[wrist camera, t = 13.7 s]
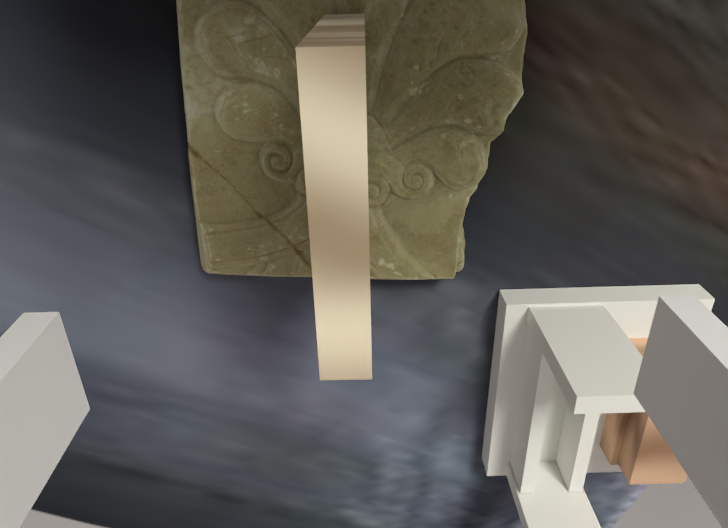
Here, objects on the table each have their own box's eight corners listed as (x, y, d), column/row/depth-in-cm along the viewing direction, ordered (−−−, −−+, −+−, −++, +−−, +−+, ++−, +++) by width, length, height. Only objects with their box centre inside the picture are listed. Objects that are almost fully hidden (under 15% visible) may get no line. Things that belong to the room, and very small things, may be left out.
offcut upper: (639, 377, 38) (653, 396, 36) (698, 375, 38) (715, 394, 36) (617, 462, 42) (629, 484, 40) (670, 461, 42) (684, 482, 40)
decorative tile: (207, 257, 39) (195, 282, 35) (182, -86, 29) (162, -93, 26) (477, 268, 40) (488, 294, 36) (533, -60, 30) (555, -64, 27)
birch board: (324, 14, 29) (295, 47, 16) (364, 13, 29) (365, 45, 16) (335, 231, 34) (319, 380, 22) (368, 230, 34) (372, 379, 22)
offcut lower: (624, 338, 39) (637, 355, 37) (696, 336, 39) (712, 353, 37) (599, 444, 44) (610, 464, 42) (663, 442, 44) (676, 462, 42)
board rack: (499, 289, 39) (549, 394, 30) (698, 284, 40) (813, 386, 30) (481, 456, 47) (516, 585, 37) (649, 451, 47) (728, 577, 37)
